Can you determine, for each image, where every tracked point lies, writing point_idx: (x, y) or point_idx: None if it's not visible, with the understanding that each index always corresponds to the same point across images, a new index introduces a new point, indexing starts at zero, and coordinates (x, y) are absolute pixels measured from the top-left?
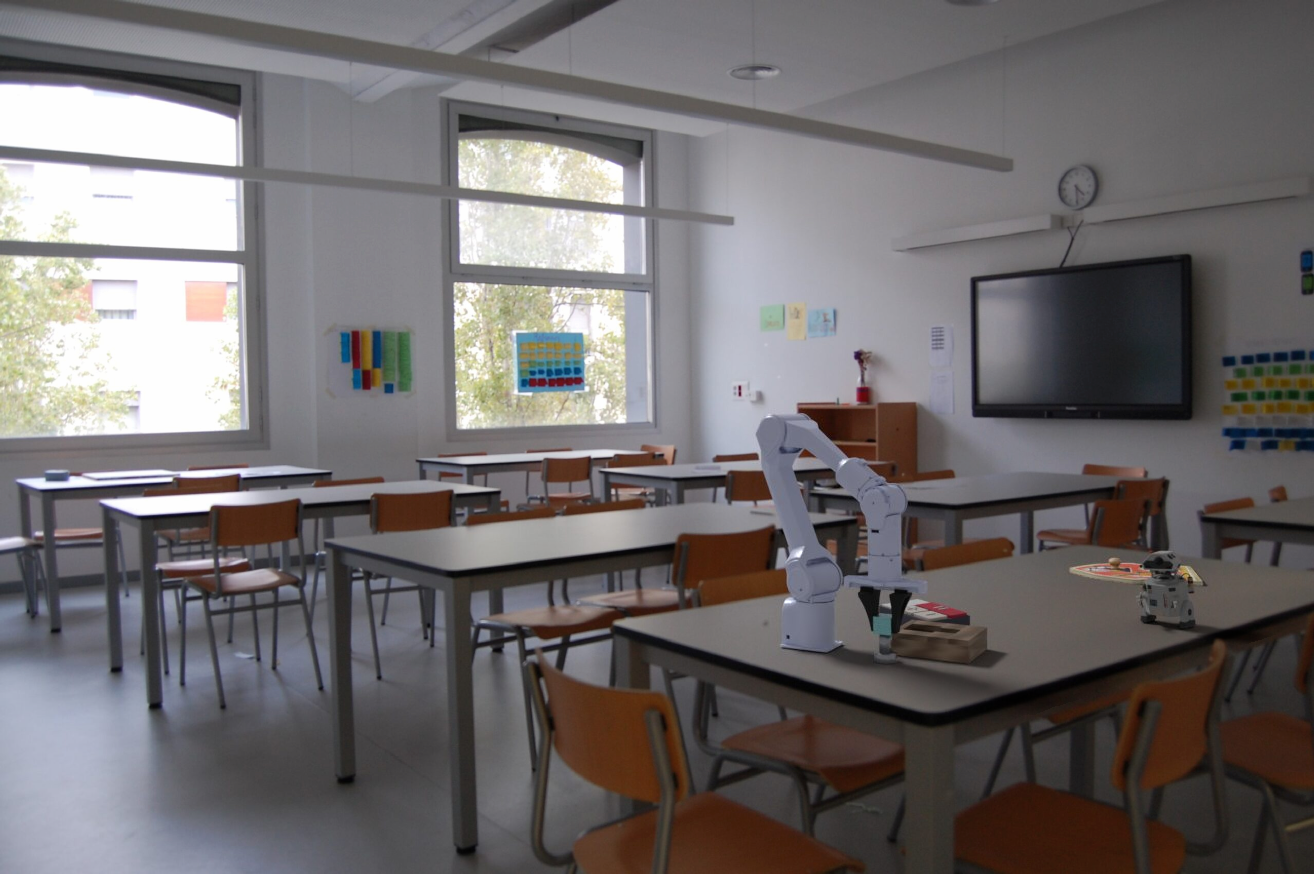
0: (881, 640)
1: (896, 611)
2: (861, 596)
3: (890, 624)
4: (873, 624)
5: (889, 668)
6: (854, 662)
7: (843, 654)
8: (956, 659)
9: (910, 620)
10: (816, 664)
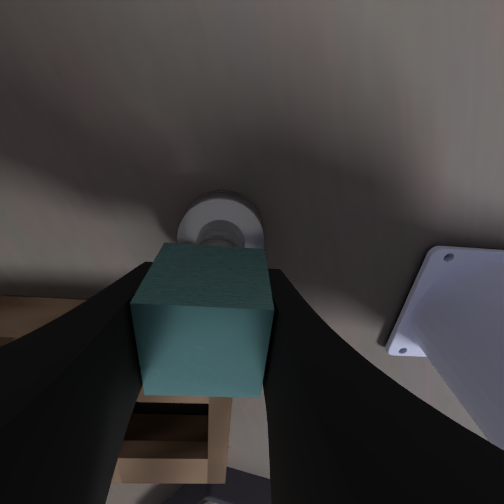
0: (227, 245)
1: (34, 339)
2: (492, 473)
3: (149, 276)
4: (267, 276)
5: (174, 132)
6: (321, 168)
7: (373, 256)
8: (22, 302)
9: (258, 500)
10: (471, 66)
